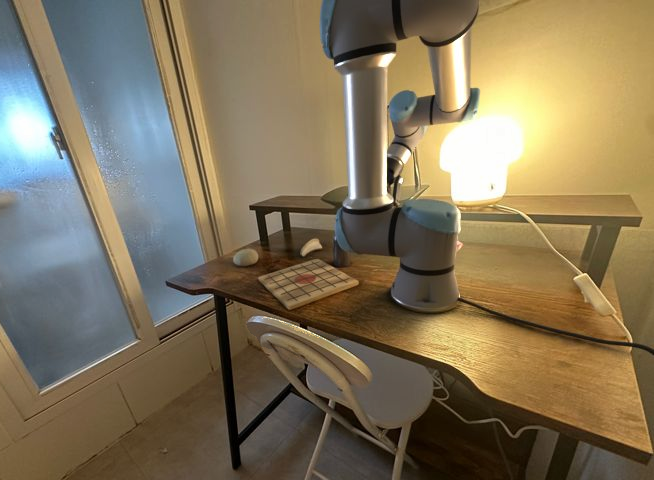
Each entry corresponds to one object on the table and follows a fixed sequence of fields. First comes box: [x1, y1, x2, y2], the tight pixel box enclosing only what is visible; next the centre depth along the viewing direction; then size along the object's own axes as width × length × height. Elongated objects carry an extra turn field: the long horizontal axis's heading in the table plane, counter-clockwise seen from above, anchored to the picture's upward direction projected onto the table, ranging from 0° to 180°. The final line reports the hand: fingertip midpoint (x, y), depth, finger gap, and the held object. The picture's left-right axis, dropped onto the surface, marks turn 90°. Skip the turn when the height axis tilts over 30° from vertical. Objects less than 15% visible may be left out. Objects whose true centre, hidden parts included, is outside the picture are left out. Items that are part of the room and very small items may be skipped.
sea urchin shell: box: [232, 248, 259, 268], centre depth 110 cm, size 9×8×8 cm
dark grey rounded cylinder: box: [332, 233, 351, 268], centre depth 97 cm, size 5×5×11 cm
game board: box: [257, 258, 360, 311], centre depth 90 cm, size 22×22×1 cm
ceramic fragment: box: [299, 238, 323, 258], centre depth 112 cm, size 14×5×4 cm, turn 143°
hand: (358, 220), depth 97 cm, fingers open, 13 cm apart
